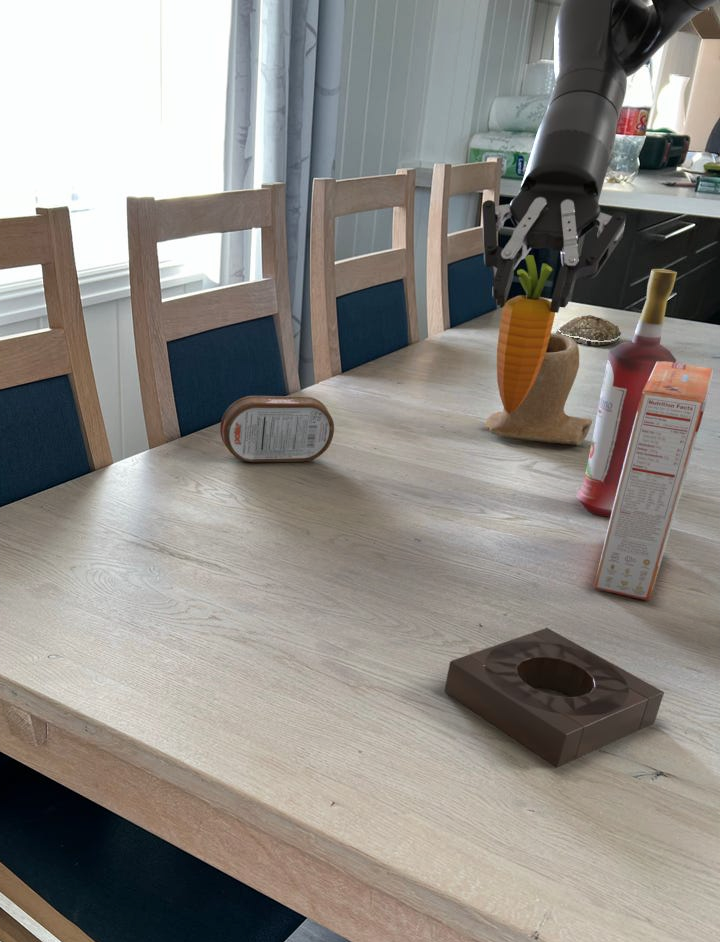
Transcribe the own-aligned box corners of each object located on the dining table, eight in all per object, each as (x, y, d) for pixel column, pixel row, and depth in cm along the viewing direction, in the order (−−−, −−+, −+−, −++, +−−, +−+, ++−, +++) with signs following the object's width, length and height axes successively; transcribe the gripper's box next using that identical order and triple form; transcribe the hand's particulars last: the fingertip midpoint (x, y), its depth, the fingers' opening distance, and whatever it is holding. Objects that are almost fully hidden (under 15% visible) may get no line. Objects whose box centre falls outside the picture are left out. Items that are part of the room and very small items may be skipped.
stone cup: (479, 444, 141) (499, 338, 133) (486, 421, 151) (505, 322, 143) (588, 460, 137) (614, 352, 130) (588, 436, 147) (612, 334, 140)
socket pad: (539, 656, 87) (547, 627, 86) (654, 723, 79) (664, 692, 77) (443, 691, 81) (449, 660, 80) (557, 767, 73) (565, 735, 71)
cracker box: (607, 542, 111) (655, 358, 101) (662, 554, 109) (718, 367, 99) (588, 589, 100) (640, 387, 90) (649, 603, 98) (710, 398, 88)
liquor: (567, 496, 124) (622, 263, 110) (625, 501, 124) (688, 268, 110) (578, 517, 118) (638, 273, 104) (640, 523, 117) (708, 279, 103)
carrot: (536, 423, 96) (569, 263, 89) (485, 418, 97) (513, 258, 90) (532, 409, 101) (563, 255, 93) (483, 404, 101) (510, 251, 94)
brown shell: (627, 341, 209) (633, 317, 207) (601, 349, 201) (607, 324, 199) (572, 330, 217) (577, 307, 214) (545, 336, 209) (550, 312, 206)
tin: (326, 455, 132) (333, 394, 128) (333, 463, 130) (340, 401, 125) (218, 457, 129) (221, 394, 125) (222, 465, 126) (226, 401, 122)
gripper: (497, 122, 94) (450, 269, 91) (652, 131, 90) (610, 287, 86) (497, 179, 101) (454, 318, 98) (641, 190, 97) (601, 337, 93)
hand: (527, 303), depth 92 cm, fingers closed on carrot, 4 cm apart
